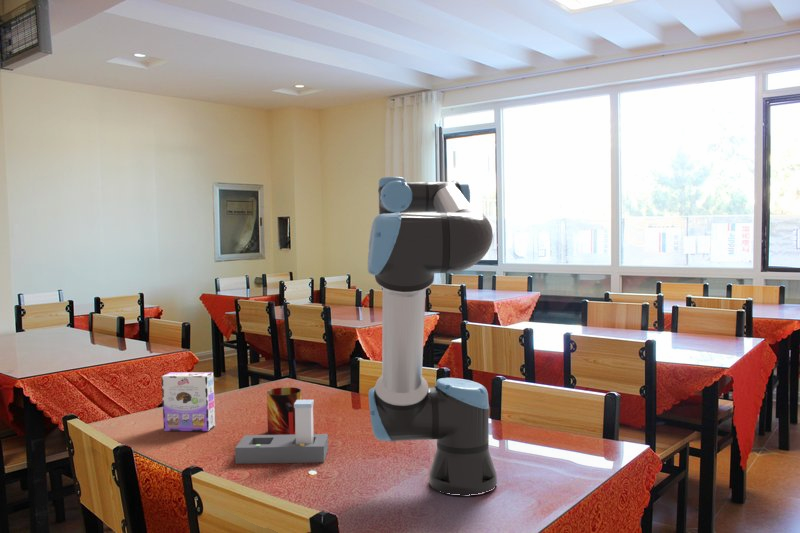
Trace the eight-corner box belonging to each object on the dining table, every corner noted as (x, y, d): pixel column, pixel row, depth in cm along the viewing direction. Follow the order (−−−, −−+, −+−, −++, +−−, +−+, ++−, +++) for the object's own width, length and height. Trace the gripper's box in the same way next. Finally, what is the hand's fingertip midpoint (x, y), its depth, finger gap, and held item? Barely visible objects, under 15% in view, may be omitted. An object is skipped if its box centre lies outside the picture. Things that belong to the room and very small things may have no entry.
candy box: (216, 426, 190) (214, 371, 190) (208, 432, 184) (206, 375, 184) (171, 425, 192) (170, 371, 191) (162, 431, 186) (160, 375, 185)
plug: (312, 458, 161) (311, 403, 161) (295, 458, 161) (293, 404, 160) (314, 452, 166) (313, 399, 165) (297, 453, 166) (296, 399, 165)
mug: (291, 443, 174) (290, 399, 173) (260, 433, 183) (259, 391, 183) (318, 434, 181) (317, 392, 180) (287, 425, 190) (287, 385, 190)
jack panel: (324, 462, 158) (323, 445, 158) (235, 463, 158) (235, 446, 158) (328, 448, 168) (327, 432, 168) (244, 450, 168) (244, 434, 168)
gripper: (408, 235, 156) (409, 321, 157) (406, 236, 181) (407, 310, 182) (378, 236, 156) (379, 322, 157) (380, 236, 181) (381, 310, 182)
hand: (394, 315), depth 170 cm, fingers open, 13 cm apart
